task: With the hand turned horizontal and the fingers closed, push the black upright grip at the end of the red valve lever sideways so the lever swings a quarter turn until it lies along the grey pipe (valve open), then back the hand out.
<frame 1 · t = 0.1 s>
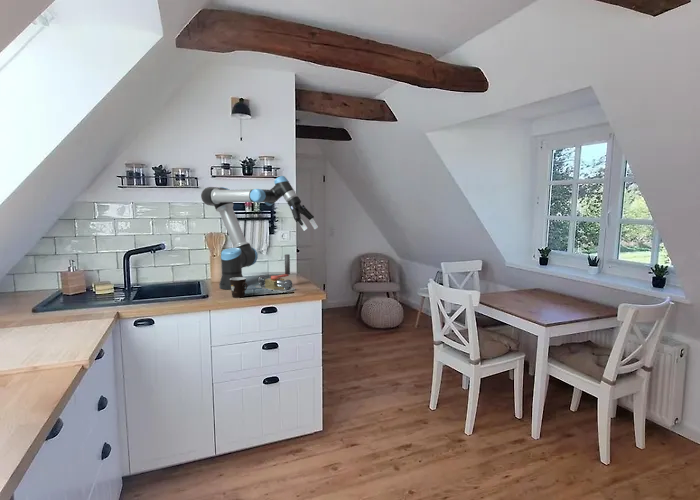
hand: (311, 229, 240), 36 cm above the table, tool tilted 35°, fingers open, 13 cm apart
valve: (274, 288, 244), on the table
coffee mug: (238, 297, 223), on the table
lever: (280, 266, 247), point 13 cm above the table, hinge at 90.0°
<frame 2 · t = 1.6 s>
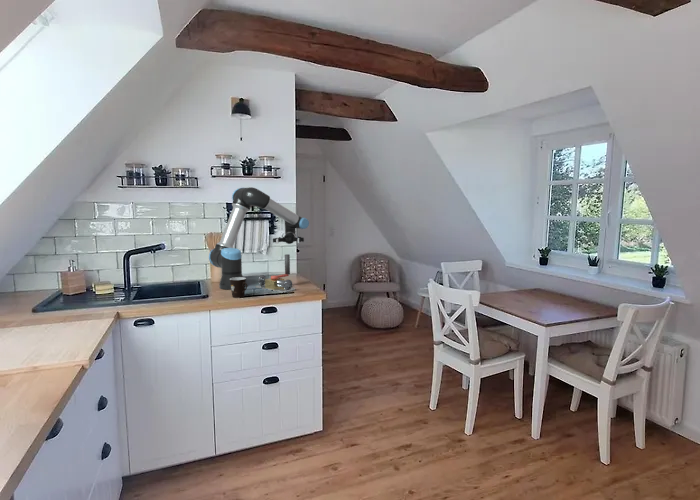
hand: (287, 241, 261), 26 cm above the table, tool horizontal, fingers open, 13 cm apart
nothing on the table moved.
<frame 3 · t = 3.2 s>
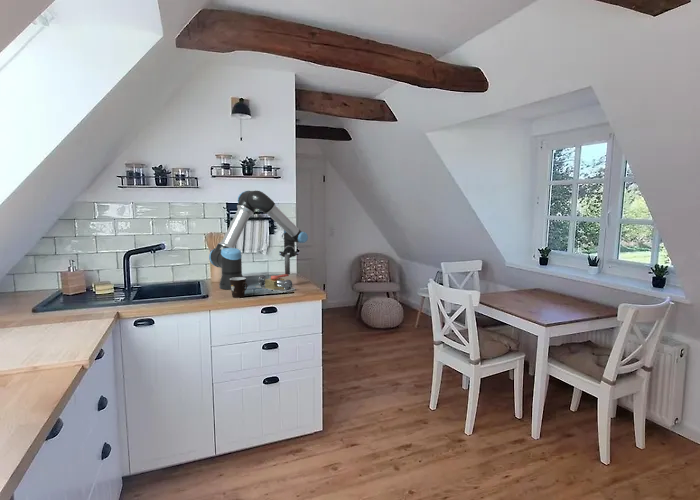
hand: (288, 256, 259), 17 cm above the table, tool horizontal, fingers closed
nothing on the table moved.
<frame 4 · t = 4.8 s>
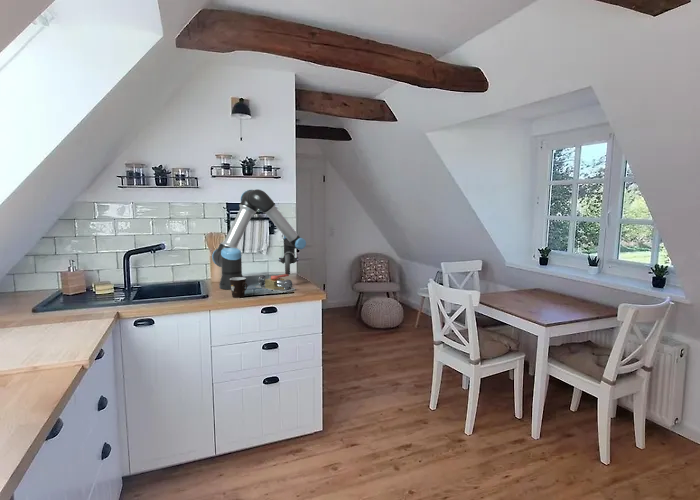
hand: (287, 263, 253), 14 cm above the table, tool horizontal, fingers closed
lever: (280, 266, 247), point 13 cm above the table, hinge at 89.3°, touching gripper
everything else where it was.
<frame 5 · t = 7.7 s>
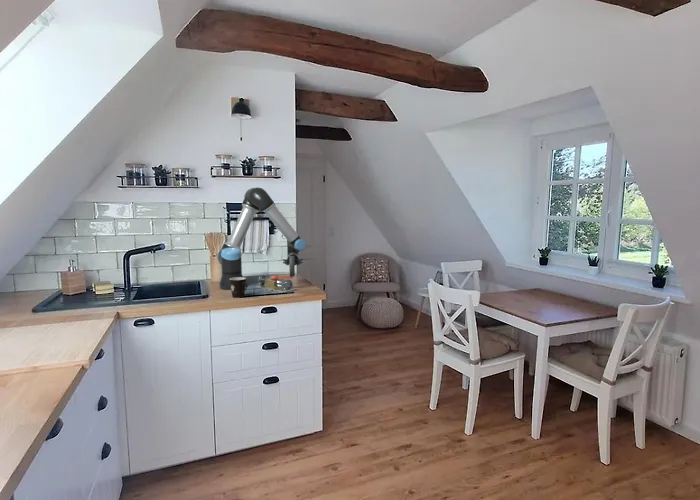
hand: (292, 264, 245), 14 cm above the table, tool horizontal, fingers closed
lever: (282, 267, 243), point 13 cm above the table, hinge at 41.1°, touching gripper
everything else where it was.
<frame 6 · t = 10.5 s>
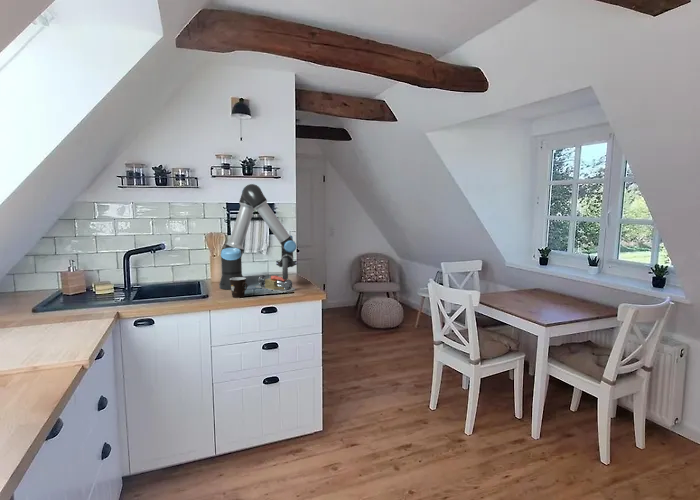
hand: (285, 266, 237), 14 cm above the table, tool horizontal, fingers closed
lever: (279, 268, 240), point 13 cm above the table, hinge at -5.4°, touching gripper
everything else where it was.
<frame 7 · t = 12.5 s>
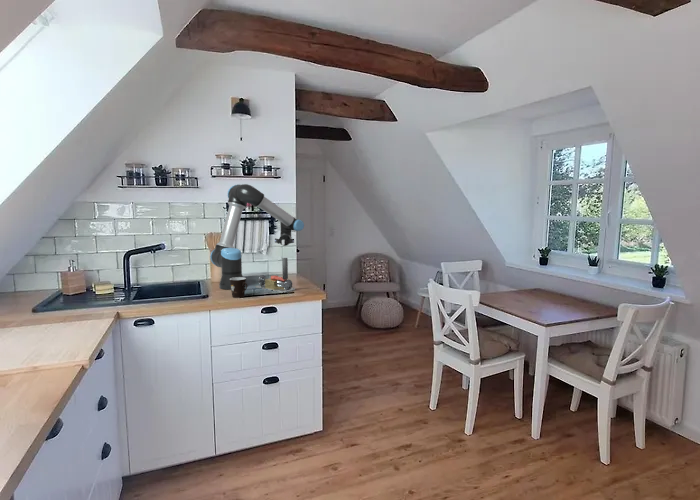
hand: (283, 242, 253), 27 cm above the table, tool horizontal, fingers closed
lever: (279, 268, 239), point 13 cm above the table, hinge at -5.5°
everything else where it was.
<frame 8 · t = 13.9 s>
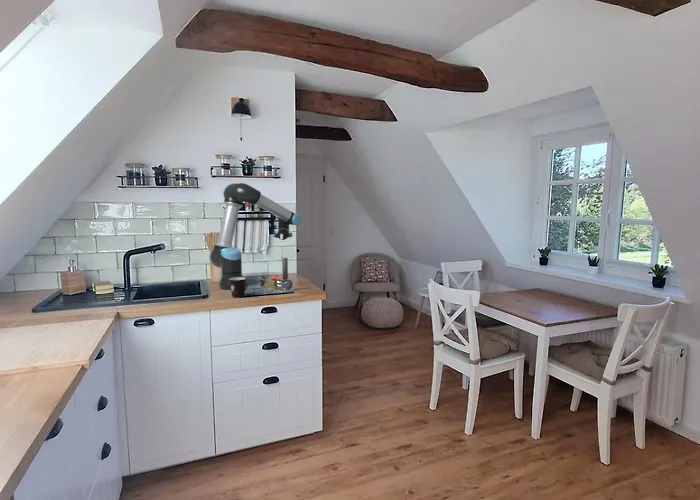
hand: (281, 236, 254), 30 cm above the table, tool horizontal, fingers closed
nothing on the table moved.
at the end: lever at -6° (first picture: +90°) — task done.
